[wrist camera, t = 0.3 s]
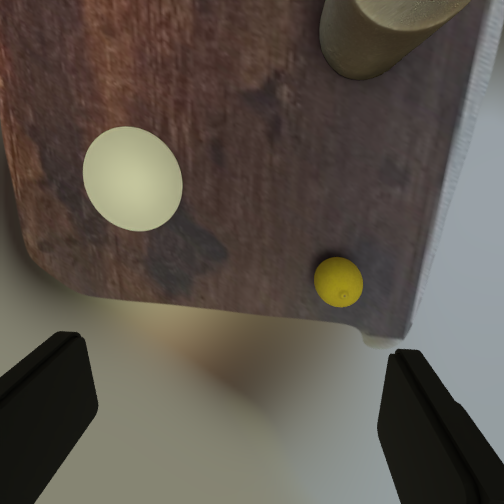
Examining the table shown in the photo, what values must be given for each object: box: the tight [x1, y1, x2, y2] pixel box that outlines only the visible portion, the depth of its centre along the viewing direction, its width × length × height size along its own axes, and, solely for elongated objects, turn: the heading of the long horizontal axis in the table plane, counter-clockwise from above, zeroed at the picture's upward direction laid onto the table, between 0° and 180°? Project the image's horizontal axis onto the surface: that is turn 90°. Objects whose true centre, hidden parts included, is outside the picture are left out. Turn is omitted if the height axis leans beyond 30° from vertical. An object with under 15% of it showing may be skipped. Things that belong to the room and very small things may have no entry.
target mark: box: [83, 127, 183, 231], centre depth 39 cm, size 13×13×1 cm
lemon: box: [314, 257, 363, 307], centre depth 36 cm, size 6×6×8 cm
